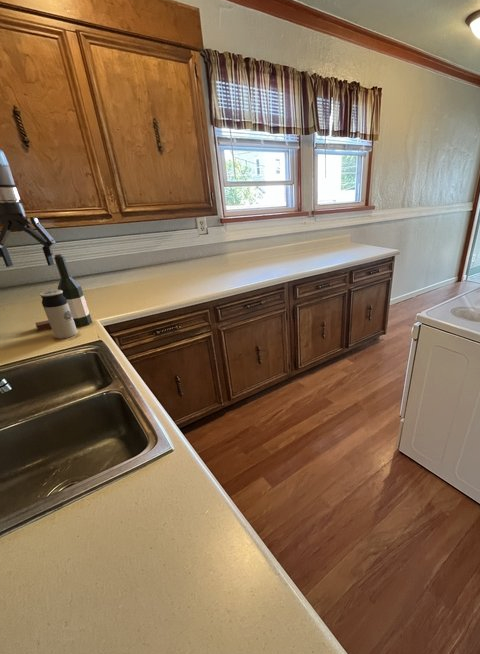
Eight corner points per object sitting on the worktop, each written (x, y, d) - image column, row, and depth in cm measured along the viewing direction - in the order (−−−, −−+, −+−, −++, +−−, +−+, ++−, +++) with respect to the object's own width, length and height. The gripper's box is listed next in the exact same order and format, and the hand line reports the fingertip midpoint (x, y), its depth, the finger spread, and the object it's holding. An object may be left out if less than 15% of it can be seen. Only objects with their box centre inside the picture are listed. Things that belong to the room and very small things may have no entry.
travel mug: (50, 337, 131) (33, 294, 123) (68, 330, 138) (53, 288, 130) (64, 340, 129) (48, 296, 121) (82, 332, 136) (68, 290, 128)
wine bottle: (96, 321, 147) (75, 253, 133) (81, 328, 140) (56, 257, 126) (82, 319, 149) (59, 252, 135) (65, 326, 142) (40, 256, 128)
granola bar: (38, 330, 138) (36, 325, 137) (37, 327, 141) (35, 322, 140) (71, 323, 144) (69, 318, 143) (69, 321, 148) (67, 316, 146)
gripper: (53, 201, 115) (72, 262, 125) (-28, 201, 111) (-2, 264, 120) (42, 202, 108) (63, 266, 118) (-44, 202, 104) (-15, 268, 114)
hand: (30, 265), depth 119 cm, fingers open, 13 cm apart
